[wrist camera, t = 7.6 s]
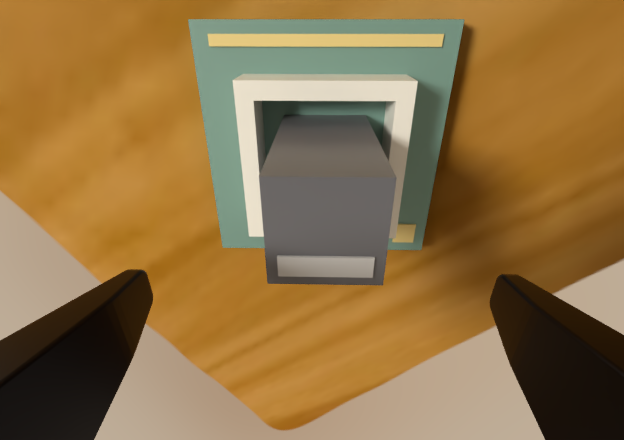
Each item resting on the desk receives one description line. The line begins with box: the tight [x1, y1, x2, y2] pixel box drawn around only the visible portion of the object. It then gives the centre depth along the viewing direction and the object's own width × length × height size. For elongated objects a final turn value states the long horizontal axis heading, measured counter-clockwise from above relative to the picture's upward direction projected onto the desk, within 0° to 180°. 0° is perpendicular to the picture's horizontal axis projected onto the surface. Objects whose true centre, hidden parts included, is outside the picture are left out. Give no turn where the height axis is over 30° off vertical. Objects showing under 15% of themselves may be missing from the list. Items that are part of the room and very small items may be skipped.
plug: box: [259, 115, 397, 285], centre depth 15 cm, size 4×4×8 cm
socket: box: [233, 74, 418, 238], centre depth 17 cm, size 8×8×2 cm
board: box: [188, 19, 464, 250], centre depth 18 cm, size 12×12×1 cm
